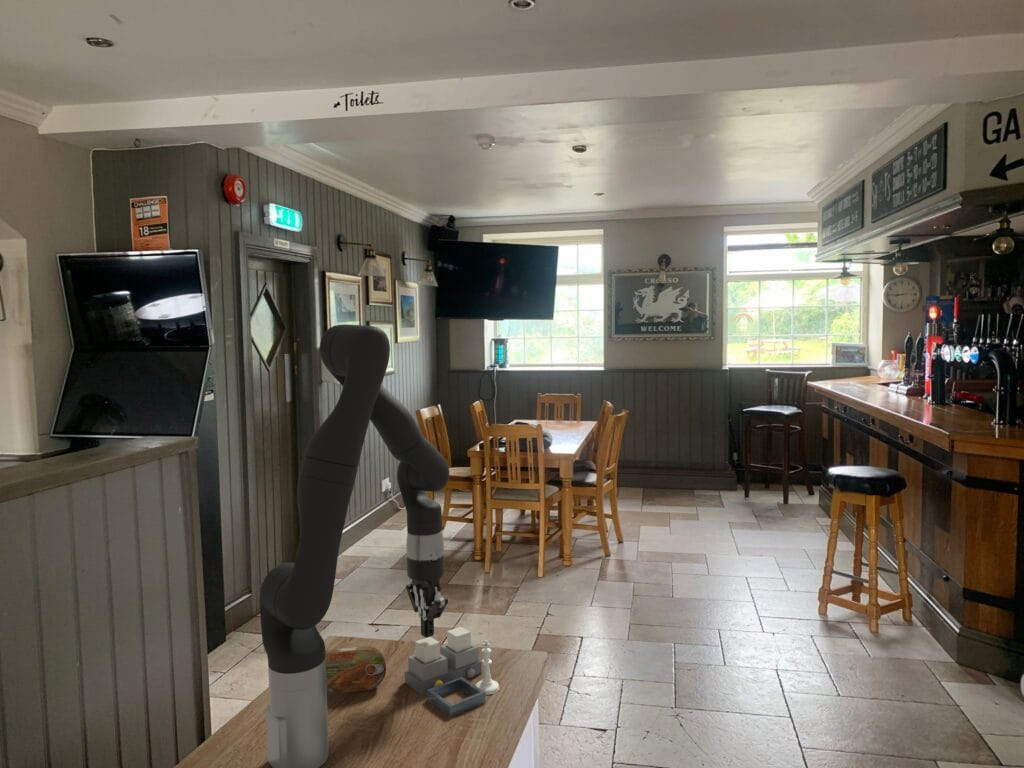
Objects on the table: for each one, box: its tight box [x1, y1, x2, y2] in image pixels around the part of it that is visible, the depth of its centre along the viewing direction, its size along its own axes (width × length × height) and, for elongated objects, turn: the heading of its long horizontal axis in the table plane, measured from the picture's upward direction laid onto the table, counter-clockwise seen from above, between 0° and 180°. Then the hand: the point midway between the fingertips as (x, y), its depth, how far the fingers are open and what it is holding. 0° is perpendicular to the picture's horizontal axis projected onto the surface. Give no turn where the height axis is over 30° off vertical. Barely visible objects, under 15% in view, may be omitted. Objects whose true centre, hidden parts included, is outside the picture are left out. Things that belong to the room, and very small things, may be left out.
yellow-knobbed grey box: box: [403, 642, 483, 697], centre depth 148 cm, size 14×8×6 cm, turn 128°
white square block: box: [414, 636, 441, 664], centre depth 145 cm, size 4×4×3 cm
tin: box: [325, 645, 387, 695], centre depth 144 cm, size 15×3×8 cm, turn 99°
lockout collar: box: [426, 677, 487, 718], centre depth 139 cm, size 8×8×2 cm
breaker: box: [446, 626, 472, 652], centre depth 150 cm, size 4×4×3 cm
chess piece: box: [474, 639, 500, 696], centre depth 143 cm, size 5×5×10 cm
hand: (427, 635), depth 145 cm, fingers closed
